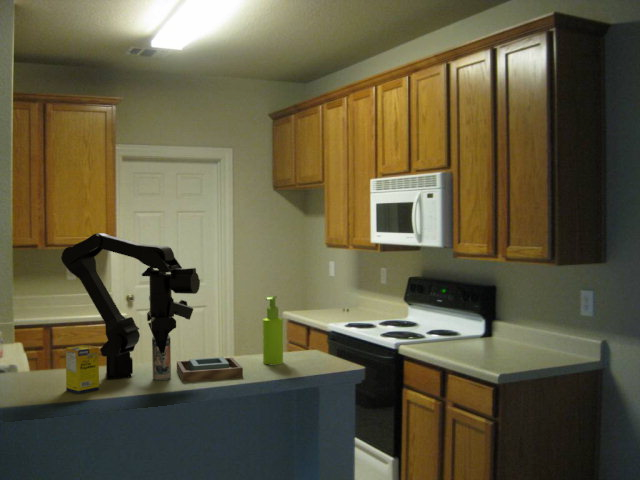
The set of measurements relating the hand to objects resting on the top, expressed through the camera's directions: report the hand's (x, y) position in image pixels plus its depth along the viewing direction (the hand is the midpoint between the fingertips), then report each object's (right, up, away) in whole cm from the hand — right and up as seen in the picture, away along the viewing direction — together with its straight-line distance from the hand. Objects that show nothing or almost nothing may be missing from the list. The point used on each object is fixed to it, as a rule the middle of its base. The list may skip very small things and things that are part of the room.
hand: (161, 350), depth 184 cm
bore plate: (+12, -7, +6) cm, 15 cm away
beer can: (0, -8, 0) cm, 8 cm away
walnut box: (+12, -7, +6) cm, 15 cm away
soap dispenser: (+29, -7, +19) cm, 35 cm away
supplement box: (-17, -8, -12) cm, 22 cm away
